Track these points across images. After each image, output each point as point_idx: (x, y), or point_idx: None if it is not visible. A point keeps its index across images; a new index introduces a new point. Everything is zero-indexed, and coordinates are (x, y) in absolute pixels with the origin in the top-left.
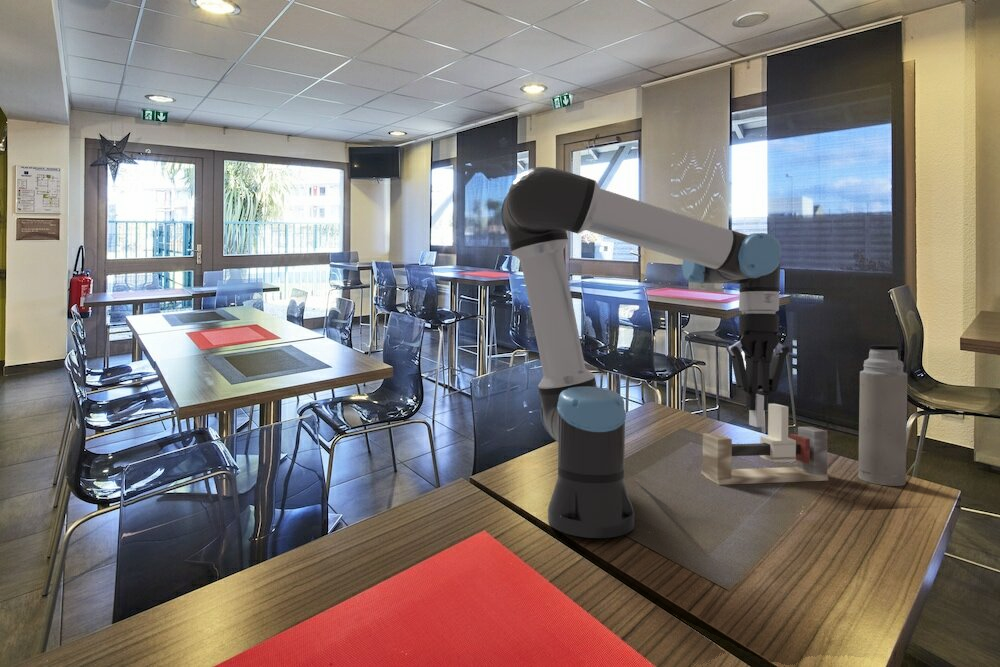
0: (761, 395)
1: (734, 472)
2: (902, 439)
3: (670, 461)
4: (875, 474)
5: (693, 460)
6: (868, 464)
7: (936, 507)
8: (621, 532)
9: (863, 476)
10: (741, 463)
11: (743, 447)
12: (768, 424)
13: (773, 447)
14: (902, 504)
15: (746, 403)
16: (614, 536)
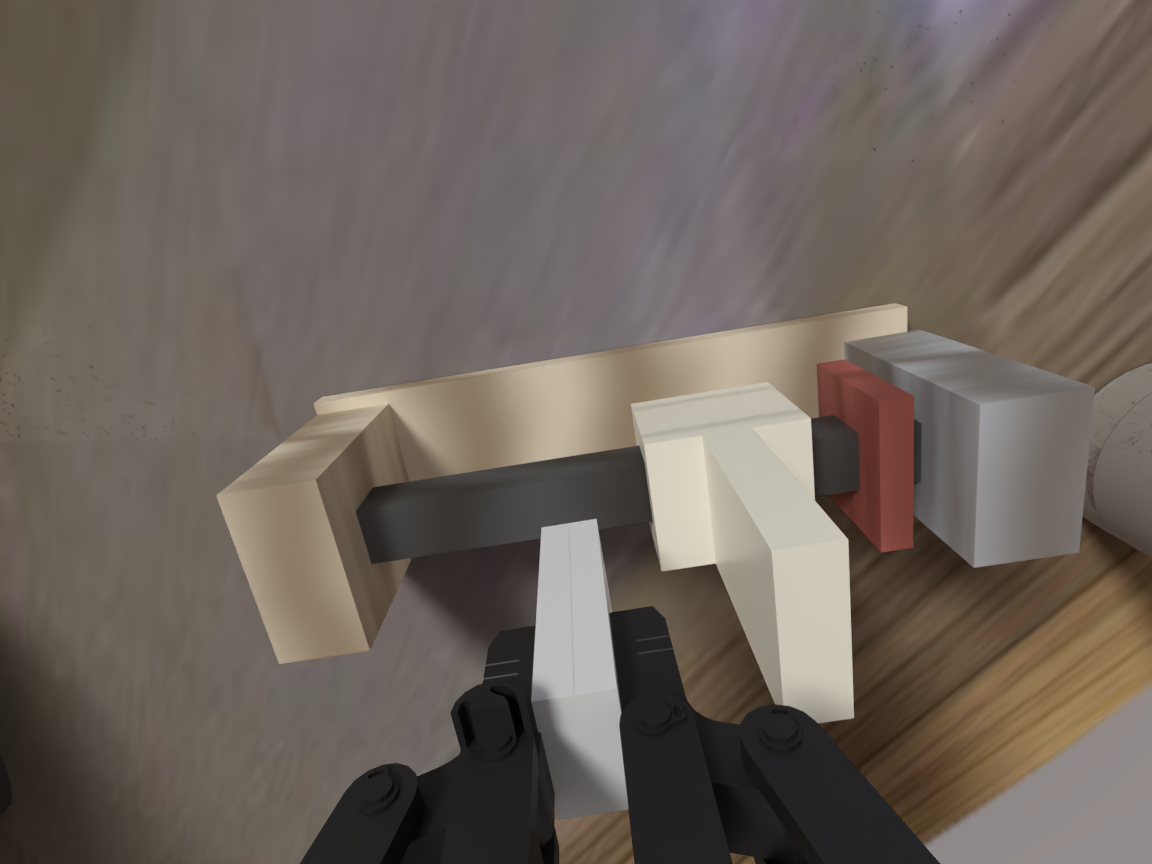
0: (614, 800)
1: (472, 437)
2: None
3: (192, 103)
4: (1100, 522)
5: (344, 67)
6: (1124, 517)
7: (1036, 741)
8: None
9: None
10: (625, 137)
11: (482, 543)
12: (720, 472)
13: (656, 551)
14: (947, 720)
15: (485, 673)
16: None
